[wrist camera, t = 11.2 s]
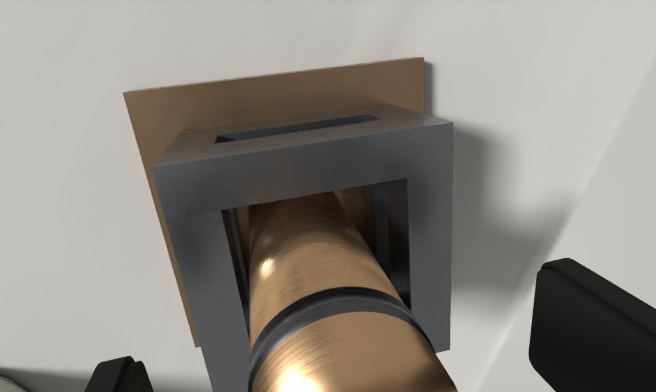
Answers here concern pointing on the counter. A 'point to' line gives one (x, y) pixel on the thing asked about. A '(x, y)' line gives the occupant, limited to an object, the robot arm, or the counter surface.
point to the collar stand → (297, 185)
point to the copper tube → (328, 308)
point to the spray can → (9, 386)
